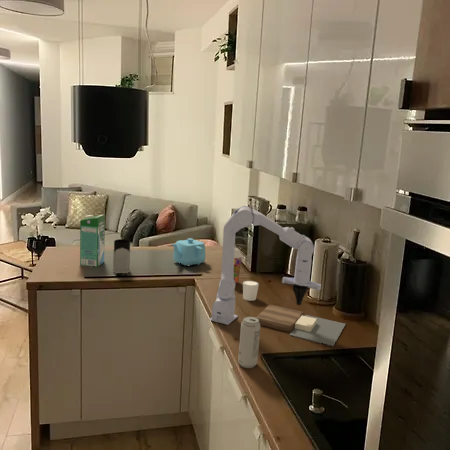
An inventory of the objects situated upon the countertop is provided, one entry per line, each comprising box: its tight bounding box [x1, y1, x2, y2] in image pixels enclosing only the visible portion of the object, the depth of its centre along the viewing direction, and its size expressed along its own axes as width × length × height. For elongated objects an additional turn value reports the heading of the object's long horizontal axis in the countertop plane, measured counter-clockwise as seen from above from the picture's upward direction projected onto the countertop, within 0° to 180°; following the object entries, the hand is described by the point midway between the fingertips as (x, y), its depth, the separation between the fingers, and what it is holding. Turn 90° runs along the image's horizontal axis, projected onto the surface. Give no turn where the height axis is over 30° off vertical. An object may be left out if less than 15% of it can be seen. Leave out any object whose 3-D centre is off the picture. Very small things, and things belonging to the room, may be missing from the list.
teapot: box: [170, 237, 206, 266], centre depth 252 cm, size 18×16×14 cm
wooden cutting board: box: [255, 304, 304, 333], centre depth 187 cm, size 16×14×2 cm
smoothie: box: [233, 247, 243, 285], centre depth 226 cm, size 8×8×20 cm
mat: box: [289, 314, 347, 347], centre depth 181 cm, size 22×16×1 cm
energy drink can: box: [237, 316, 262, 369], centre depth 150 cm, size 6×6×15 cm
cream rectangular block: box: [294, 315, 317, 332], centre depth 183 cm, size 9×6×2 cm, turn 156°
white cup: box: [242, 280, 259, 302], centre depth 208 cm, size 7×7×7 cm
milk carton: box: [79, 214, 106, 268], centre depth 239 cm, size 9×9×25 cm
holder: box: [111, 238, 131, 274], centre depth 235 cm, size 9×14×15 cm, turn 14°
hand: (299, 304), depth 183 cm, fingers closed
